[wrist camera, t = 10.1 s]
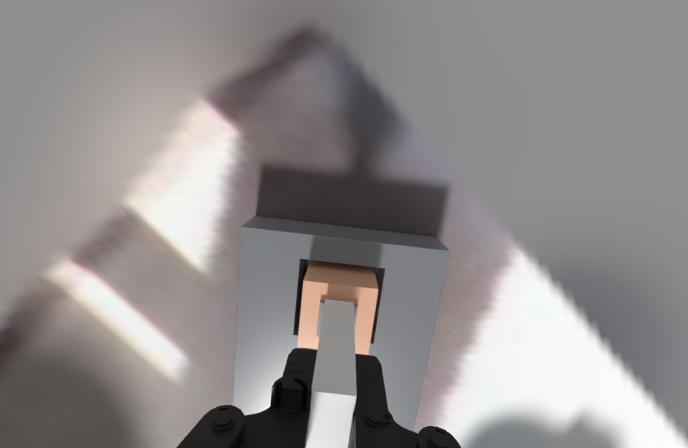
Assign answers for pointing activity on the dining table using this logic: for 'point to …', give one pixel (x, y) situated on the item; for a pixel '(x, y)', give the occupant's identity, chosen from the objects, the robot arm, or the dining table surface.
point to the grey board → (285, 301)
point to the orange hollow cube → (339, 286)
